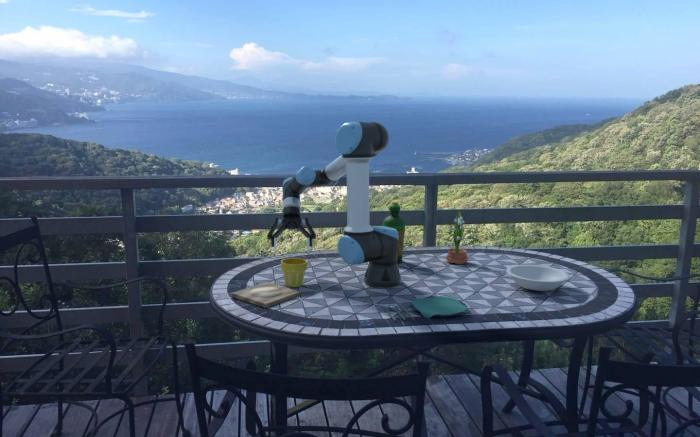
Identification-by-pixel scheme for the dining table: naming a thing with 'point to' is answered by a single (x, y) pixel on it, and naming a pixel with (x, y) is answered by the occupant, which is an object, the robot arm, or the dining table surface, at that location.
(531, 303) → the dining table surface
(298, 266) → the plant pot
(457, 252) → the potted flower
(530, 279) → the soup bowl
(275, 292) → the trivet board
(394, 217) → the bottle
